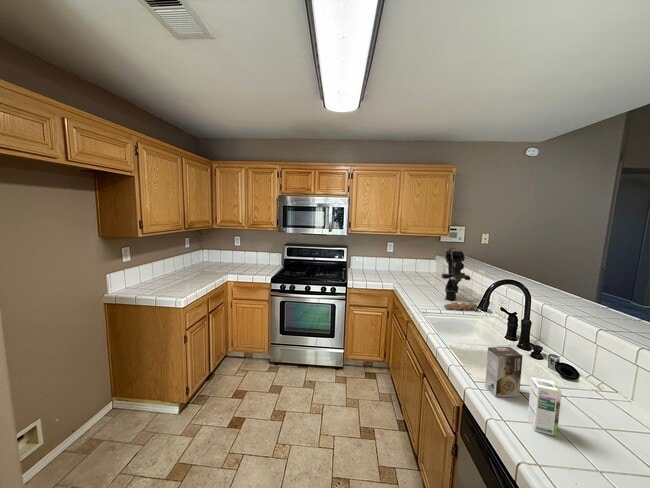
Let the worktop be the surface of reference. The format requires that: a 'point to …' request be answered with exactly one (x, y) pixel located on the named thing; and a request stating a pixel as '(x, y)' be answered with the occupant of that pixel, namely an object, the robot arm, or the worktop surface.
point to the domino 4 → (487, 312)
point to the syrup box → (544, 406)
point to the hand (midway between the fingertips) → (454, 288)
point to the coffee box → (503, 371)
